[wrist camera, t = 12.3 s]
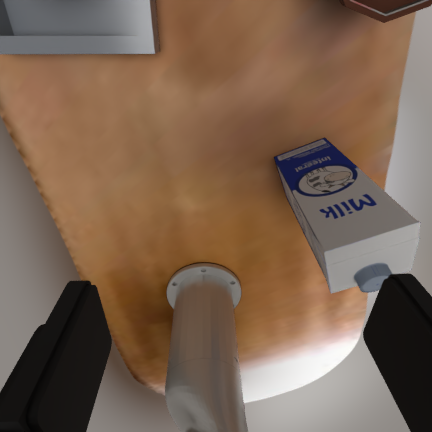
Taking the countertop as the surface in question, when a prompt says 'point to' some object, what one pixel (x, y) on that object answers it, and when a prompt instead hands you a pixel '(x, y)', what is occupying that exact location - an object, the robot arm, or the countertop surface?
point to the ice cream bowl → (386, 7)
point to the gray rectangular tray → (78, 27)
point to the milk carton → (347, 218)
